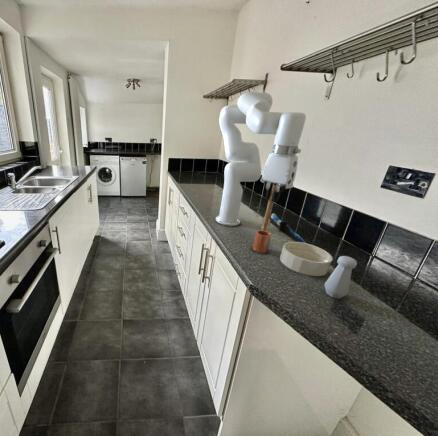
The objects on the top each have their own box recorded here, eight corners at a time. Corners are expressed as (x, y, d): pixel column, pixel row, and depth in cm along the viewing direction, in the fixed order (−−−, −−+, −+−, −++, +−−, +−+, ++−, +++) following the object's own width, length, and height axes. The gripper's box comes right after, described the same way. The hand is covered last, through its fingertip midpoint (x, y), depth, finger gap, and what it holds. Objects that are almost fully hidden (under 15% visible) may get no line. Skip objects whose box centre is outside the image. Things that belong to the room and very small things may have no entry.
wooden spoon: (259, 228, 94) (269, 185, 87) (261, 227, 95) (272, 185, 88) (266, 231, 92) (277, 187, 85) (268, 230, 93) (280, 187, 86)
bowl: (271, 254, 93) (275, 241, 91) (307, 254, 94) (312, 241, 92) (295, 277, 79) (300, 262, 77) (337, 277, 80) (343, 263, 78)
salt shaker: (335, 302, 69) (351, 265, 64) (317, 289, 74) (331, 254, 69) (349, 298, 70) (366, 262, 65) (331, 286, 75) (345, 252, 70)
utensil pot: (250, 247, 99) (253, 230, 96) (262, 247, 99) (266, 230, 96) (256, 253, 94) (260, 236, 91) (269, 253, 94) (273, 236, 91)
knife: (268, 218, 127) (270, 211, 125) (274, 219, 127) (276, 211, 125) (298, 252, 100) (302, 243, 98) (305, 252, 100) (309, 243, 98)
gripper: (313, 153, 77) (297, 205, 84) (269, 148, 89) (258, 193, 96) (302, 154, 73) (286, 208, 81) (257, 148, 86) (247, 196, 93)
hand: (271, 200), depth 88 cm, fingers closed on wooden spoon, 1 cm apart
